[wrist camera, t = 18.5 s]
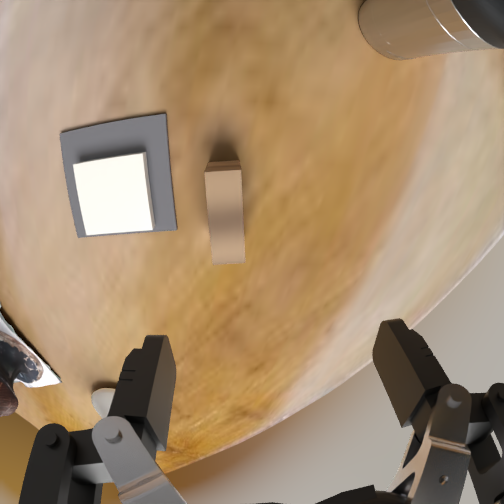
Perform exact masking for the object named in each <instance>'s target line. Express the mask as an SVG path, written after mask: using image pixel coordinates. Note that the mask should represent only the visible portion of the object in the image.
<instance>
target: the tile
mask: <svg viewBox="0 0 504 504" xmlns="http://www.w3.org/2000/svg"><path fill="white" fill-rule="evenodd" d="M73 168H74V175H75V181H76V187H77V192H78V198H79V203H80V208H81V213H82V218H83V222H84V227H85V231H86V235H96V234H108V233H120V232H133V231H147V230H153V229H154V227H155V220H154V214H153V206H152V199H151V191H150V183H149V175H148V166H147V157H146V152H140V153H132V154H125V155H118V156H112V157H106V158H100V159H94V160H88V161H83V162H78V163H76V164H73Z"/></svg>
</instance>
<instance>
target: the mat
mask: <svg viewBox="0 0 504 504" xmlns="http://www.w3.org/2000/svg"><path fill="white" fill-rule="evenodd" d="M60 142H61V150H62V158H63V165H64V171H65V177H66V183H67V189H68V194H69V200H70V205H71V209H72V214H73V219H74V223H75V227H76V232H77V236H78V238H81V237H92V236H104V235H117V234H130V233H144V232H158V231H173V230H177V222H176V214H175V205H174V196H173V187H172V177H171V167H170V156H169V144H168V131H167V116H166V114H160V115H153V116H145V117H139V118H132V119H126V120H121V121H115V122H110V123H105V124H100V125H95V126H90V127H85V128H81V129H77V130H73V131H68V132H64V133H60ZM140 152H146V157H147V166H148V175H149V183H150V191H151V199H152V206H153V214H154V220H155V227H154V229H153V230H147V231H133V232H120V233H108V234H96V235H86V231H85V227H84V222H83V218H82V213H81V208H80V203H79V198H78V192H77V187H76V181H75V175H74V168H73V164H76V163H78V162H83V161H88V160H94V159H100V158H106V157H112V156H118V155H125V154H132V153H140Z"/></svg>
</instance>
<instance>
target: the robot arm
mask: <svg viewBox="0 0 504 504" xmlns="http://www.w3.org/2000/svg"><path fill="white" fill-rule="evenodd" d="M358 18H359V25H360V29H361V31H362V33H363V35H364V37H365V39H366V40H367V42H368V43H369V44H370V45H371V46H372V47H373V48H374V49H375V50H376V51H378V52H379V53H380V54H382V55H384V56H386V57H388V58H391V59H394V60H405V59H413V58H417V57H424V56H430V55H437V54H444V53H452V52H462V51H472V50H485V49H504V0H366V1H365V2H364V3H363V4H362V6H361V8H360V10H359V16H358ZM373 362H374V365H375V367H376V369H377V371H378V373H379V376H380V378H381V380H382V382H383V385H384V387H385V389H386V392H387V394H388V396H389V398H390V401H391V403H392V406H393V408H394V410H395V413H396V415H397V417H398V420H399V422H400V425H401V427H402V428H403V427H406V426H409V425H412V426H413V429H414V430H413V432H412V433H411V437H410V439H409V442H408V445H407V448H406V451H405V453H404V456H403V459H402V461H401V464H400V466H399V469H398V471H397V473H396V475H395V477H394V478H393V480H392V481H391V483H390V485H389V486H388V488H387V490H386V491H375V488H374V485H370V486H366V487H362V488H358V489H354V490H349V491H345V492H341V493H339V494H337V495H335V496H333V497H330V498H328V499H326V500H323V501H321V502H318V503H316V504H459V501H460V497H461V494H462V490H463V487H464V483H465V478H466V475H467V470H468V471H469V473H470V476H471V479H472V482H473V485H474V488H475V491H476V494H477V497H478V500H479V504H504V383H495V384H493V385H492V386H491V387H490V389H489V390H488V392H487V393H469V392H468V391H467V389H465V388H464V387H462V386H461V385H458V384H452V383H451V382H450V381H449V379H448V377H447V375H446V374H445V372H444V370H443V369H442V367H441V365H440V364H439V362H438V361H437V359H436V357H435V356H433V353H432V351H431V349H430V348H428V345H427V343H426V342H425V340H424V339H423V337H422V336H420V335H419V334H418V333H417V332H415V331H414V330H413V329H411V330H409V329H408V327H407V326H406V324H405V323H404V321H403V320H402V319H400V318H399V319H392V320H386V321H382V322H381V324H380V327H379V331H378V334H377V338H376V341H375V344H374V347H373ZM175 381H176V365H175V361H174V357H173V353H172V350H171V346H170V343H169V339H168V336H167V335H147V336H146V337H145V340H144V343H143V347H142V349H133V350H132V351H131V353H130V354H129V355H128V356H127V357H126V358H125V361H124V364H123V367H122V372H121V373H120V377H119V381H118V383H117V386H116V389H115V393H114V396H113V399H112V403H111V406H110V409H109V413H108V415H107V417H106V418H103V419H101V420H100V421H99V422H98V423H97V424H96V425H95V426H94V428H92V429H88V430H81V431H73V432H68V431H67V430H66V429H65V427H63V426H62V425H60V424H55V423H53V424H48V425H45V426H44V427H42V428H41V429H40V430H39V431H38V433H37V435H36V438H35V441H34V444H33V447H32V451H31V455H30V458H29V462H28V465H27V469H26V473H25V477H24V481H23V486H22V490H21V495H20V500H19V504H100V503H101V494H102V486H103V483H107V482H114V483H115V485H116V487H117V489H118V490H119V494H118V496H119V498H120V501H121V503H122V504H187V502H186V501H185V500H184V499H183V498H182V496H181V495H180V494H179V493H178V491H177V490H176V489H175V488H174V486H173V485H172V484H171V482H170V481H169V480H168V478H167V477H166V475H165V474H164V473H163V471H162V470H161V469H160V467H159V466H158V464H157V463H156V461H155V458H156V451H157V450H159V451H166V446H167V438H168V430H169V422H170V415H171V408H172V401H173V394H174V388H175ZM493 430H494V432H495V435H496V437H497V439H498V441H499V443H500V446H501V448H502V452H503V454H502V458H501V457H500V454H499V452H498V450H497V447H496V445H495V443H494V440H493V438H492V436H491V433H492V432H493ZM258 504H281V503H273V502H272V503H258Z"/></svg>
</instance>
